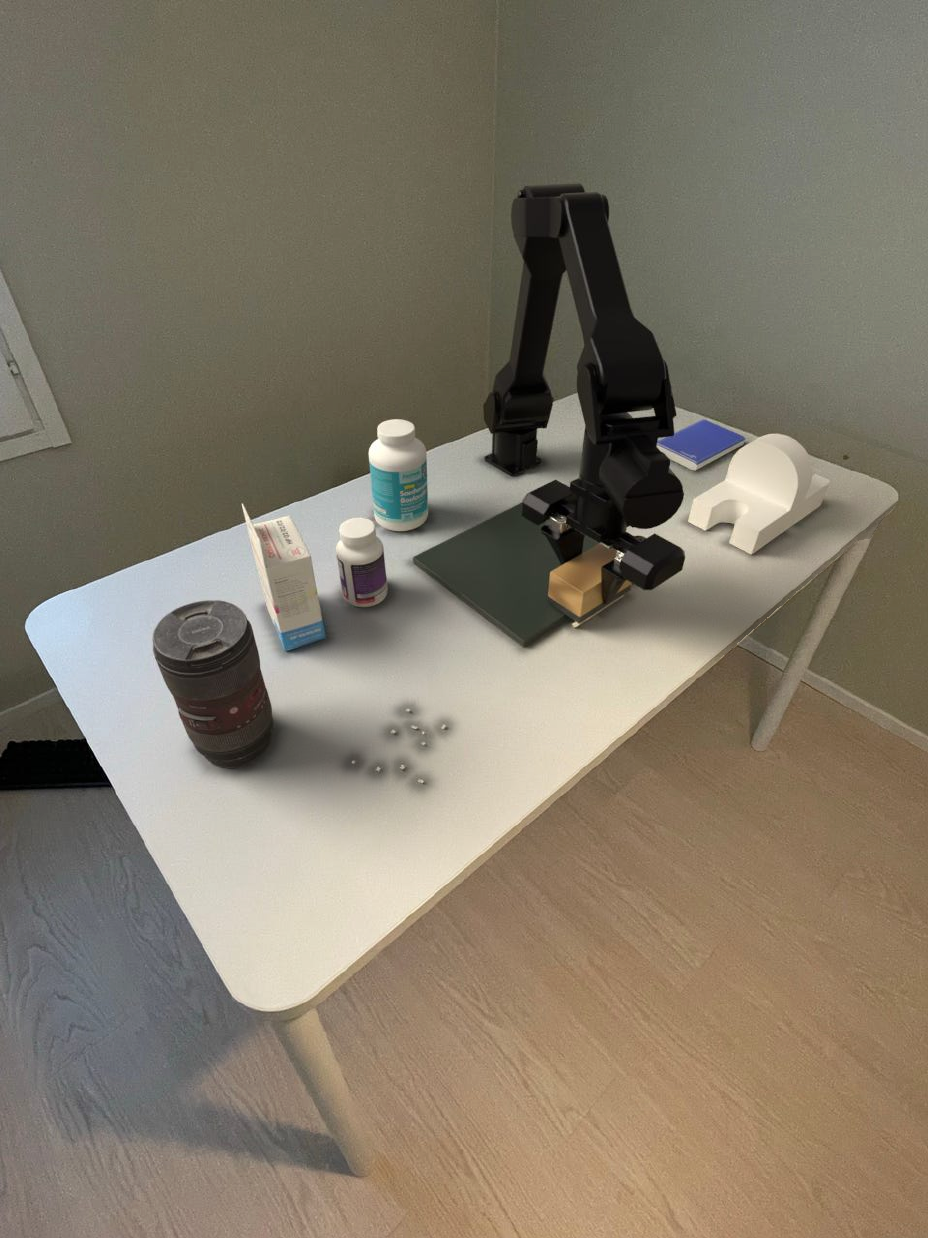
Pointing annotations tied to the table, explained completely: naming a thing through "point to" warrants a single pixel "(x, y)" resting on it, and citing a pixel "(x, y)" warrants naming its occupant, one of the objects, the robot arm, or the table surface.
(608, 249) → the robot arm
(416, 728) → the crumbs
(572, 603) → the eraser
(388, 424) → the pill bottle
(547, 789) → the table surface
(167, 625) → the camera lens
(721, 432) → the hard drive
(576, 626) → the chalk stroke
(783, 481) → the block with arch cutout
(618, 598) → the chalk stroke
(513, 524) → the chalkboard
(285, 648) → the ink box
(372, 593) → the pill bottle
